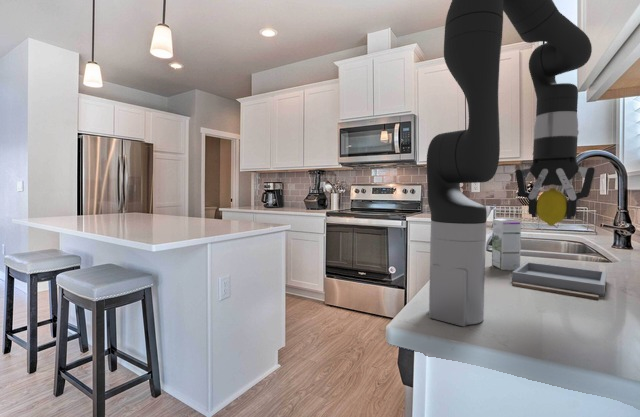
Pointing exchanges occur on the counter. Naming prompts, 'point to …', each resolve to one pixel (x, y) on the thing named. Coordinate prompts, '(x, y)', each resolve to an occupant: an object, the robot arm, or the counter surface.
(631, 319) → the counter surface
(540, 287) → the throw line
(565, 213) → the lemon
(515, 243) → the syrup box
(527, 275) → the tray
